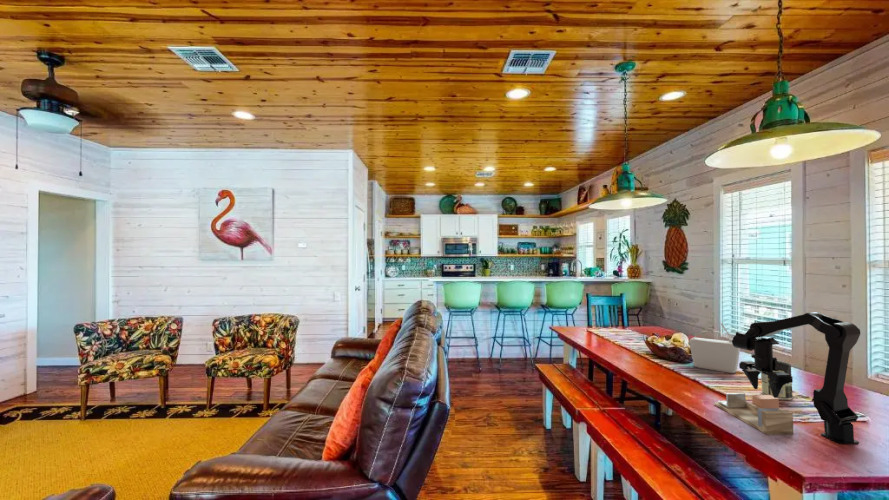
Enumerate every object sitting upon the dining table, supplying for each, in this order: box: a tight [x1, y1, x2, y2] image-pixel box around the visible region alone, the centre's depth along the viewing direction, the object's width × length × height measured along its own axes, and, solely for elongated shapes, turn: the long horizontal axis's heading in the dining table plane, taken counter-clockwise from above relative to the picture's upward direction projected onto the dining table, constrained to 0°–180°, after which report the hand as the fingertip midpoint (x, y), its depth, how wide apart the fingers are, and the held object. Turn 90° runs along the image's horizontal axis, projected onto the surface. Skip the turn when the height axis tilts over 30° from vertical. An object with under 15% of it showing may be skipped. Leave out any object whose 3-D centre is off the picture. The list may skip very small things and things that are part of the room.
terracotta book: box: [751, 394, 780, 409], centre depth 146 cm, size 4×7×6 cm, turn 89°
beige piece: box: [714, 400, 795, 436], centre depth 142 cm, size 26×9×8 cm, turn 179°
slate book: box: [758, 408, 781, 427], centre depth 132 cm, size 3×7×6 cm, turn 89°
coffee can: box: [760, 360, 794, 401], centre depth 162 cm, size 10×10×14 cm
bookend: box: [717, 392, 747, 408], centre depth 151 cm, size 6×7×6 cm
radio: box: [688, 322, 741, 374], centre depth 200 cm, size 22×8×25 cm, turn 43°
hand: (765, 393), depth 146 cm, fingers open, 9 cm apart
